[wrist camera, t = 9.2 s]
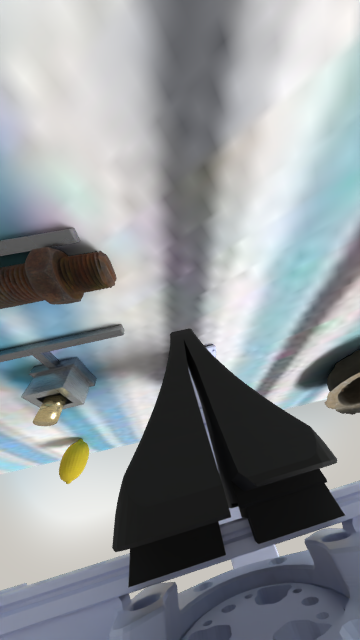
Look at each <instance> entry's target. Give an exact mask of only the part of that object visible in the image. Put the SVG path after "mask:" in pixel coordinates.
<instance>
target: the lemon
mask: <svg viewBox="0 0 360 640" xmlns="http://www.w3.org/2000/svg"><path fill="white" fill-rule="evenodd" d="M88 456H89V447H88V445H87V443H85V442H83V440H82V439H79V440H78V441H77V442H76V443H73V444H72V445H71V446H70V447H69V448H68V449H67V450H66V452H65V453H64V455H63V457H62V460H61V463H60V468H59V475H60V478H61V479H62V480H63V481H65V482H66V484H69V483H71V481H73V480H74V479H76V478H77V477H78V476H79V475H80V474H81V473H82V471H83V470H84V467H85V465H86V463H87V460H88Z"/></svg>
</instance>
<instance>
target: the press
mask: <svg viewBox="0 0 360 640" xmlns="http://www.w3.org/2000/svg"><path fill="white" fill-rule="evenodd" d="M79 241H80V239H79V237H78V235H77V233H76V231H75V229H74V228H70V229H64V230H58V231H52V232H46V233H41V234H35V235H29V236H23V237H17V238H11V239H5V240H0V256H4V255H10V254H15V253H21V252H27V251H31V250H32V249H37V248H43V247H55V246H61V245H67V244H72V243H77V242H79ZM121 335H124V328H123V326H122V325H117V326H113V327H108V328H103V329H99V330H94V331H89V332H85V333H80V334H75V335H71V336H66V337H61V338H57V339H52V340H47V341H43V342H38V343H33V344H29V345H24V346H20V347H15V348H10V349H6V350H1V351H0V362H3V361H8V360H12V359H17V358H21V357H26V356H30V355H33V356H34V357H35V358H36V359H38V360H39V361H40V362H41V363H42V364H44V365H40V366H35V367H34V368H33V369H32V370H31V372H30V373H29V375H31V376H32V377H34V378H33V380H32V381H31V383H30V384H29V386H28V387H27V389H26V390H25V392H24V393H23V395H22V396H21V397H22V398H24V399H25V400H27V401H29V402H31V403H33V404H34V405H36V406H38V407H41V405H42V403H43V401H44V399H45V398H46V397H47V396H49V395H62V396H64V397H66V399H67V400H66V402H65V405H64V407H63V409H66V408H70V407H74V406H78V405H82V404H84V403H85V399H86V396H87V393H88V390H89V387H91V386H95V383H96V378H95V376H94V375H93V374H92V373H91V372H90V371H89V370H88V369H87V368H86V367H85V365H84V364H83V363H82V362H81V361H80V360H79V359H78V358H77V357H75V358H71V359H66V360H62V361H59V360H58V359H57V358H55V357H54V356H53V355H52V354H51V353H50V352H49V351H53V350H58V349H62V348H67V347H71V346H76V345H80V344H85V343H90V342H94V341H99V340H103V339H108V338H112V337H117V336H121Z"/></svg>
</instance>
